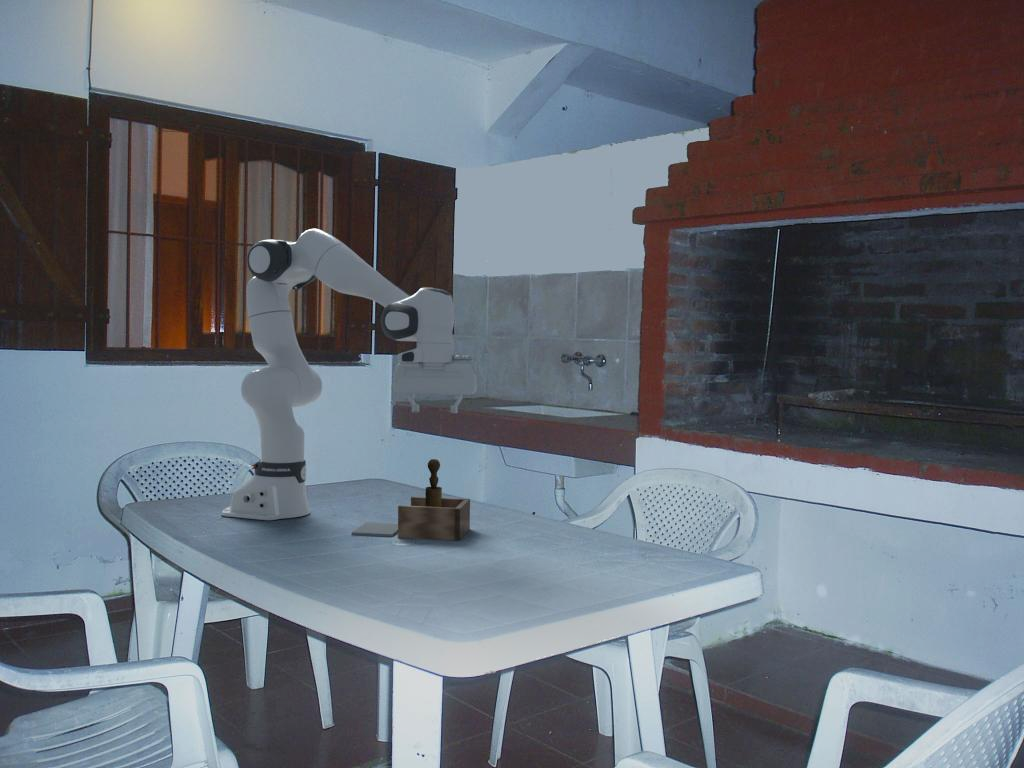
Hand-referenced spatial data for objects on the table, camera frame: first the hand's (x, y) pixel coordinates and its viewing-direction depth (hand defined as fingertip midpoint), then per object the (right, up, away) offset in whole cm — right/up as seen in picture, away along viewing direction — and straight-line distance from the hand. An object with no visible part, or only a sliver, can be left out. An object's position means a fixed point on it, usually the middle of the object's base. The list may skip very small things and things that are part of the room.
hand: (434, 412), depth 213 cm
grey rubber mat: (-14, -29, +3) cm, 32 cm away
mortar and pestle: (-1, -30, +1) cm, 30 cm away
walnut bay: (-1, -29, +1) cm, 29 cm away
